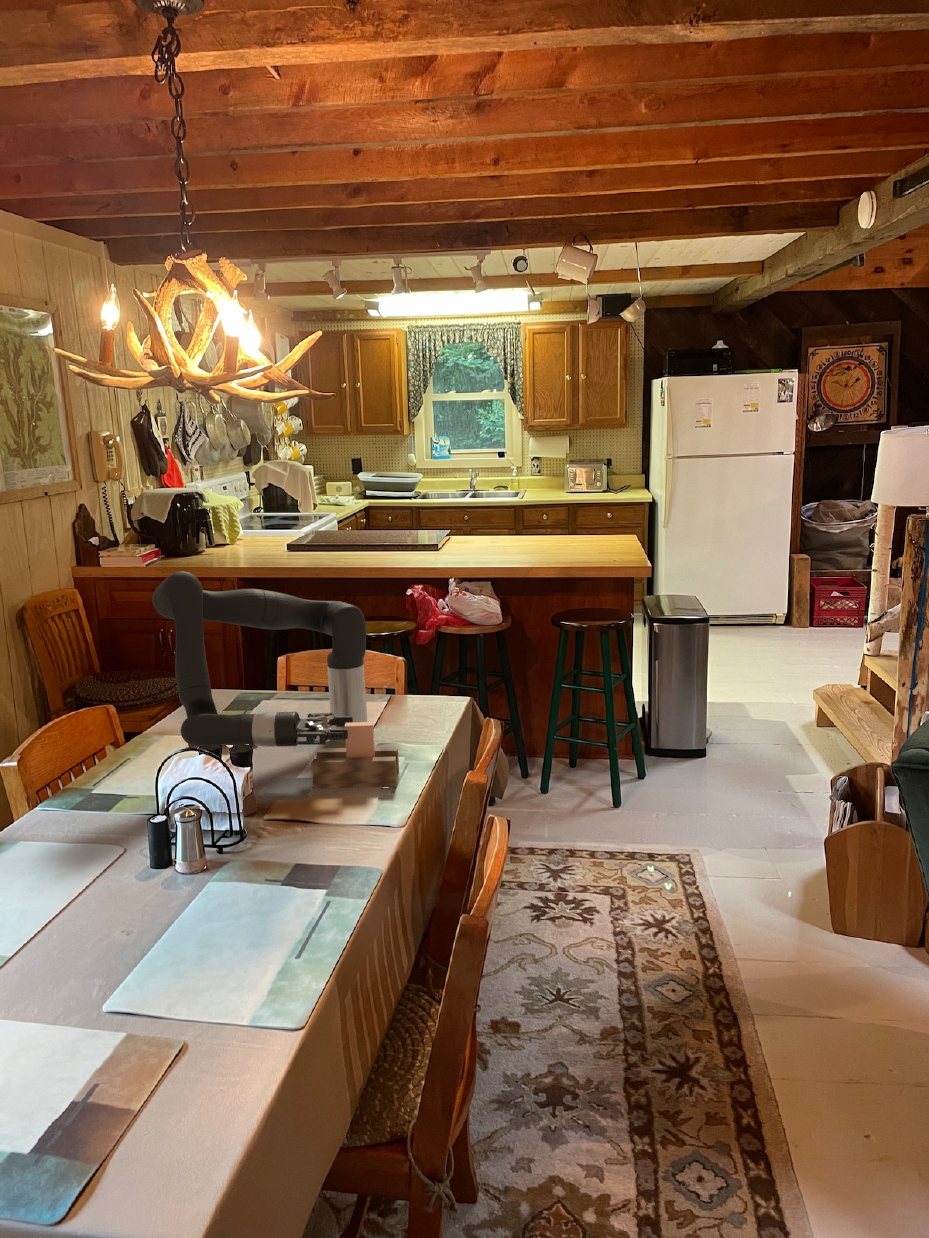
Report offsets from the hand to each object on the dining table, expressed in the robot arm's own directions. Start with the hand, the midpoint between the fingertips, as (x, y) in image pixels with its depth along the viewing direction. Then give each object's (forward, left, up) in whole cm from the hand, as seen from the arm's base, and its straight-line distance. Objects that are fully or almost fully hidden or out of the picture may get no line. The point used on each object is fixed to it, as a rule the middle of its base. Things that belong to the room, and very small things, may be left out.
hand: (350, 727), depth 198 cm
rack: (0, +1, -12) cm, 13 cm away
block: (-1, +2, -11) cm, 11 cm away
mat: (+9, -11, -12) cm, 19 cm away
